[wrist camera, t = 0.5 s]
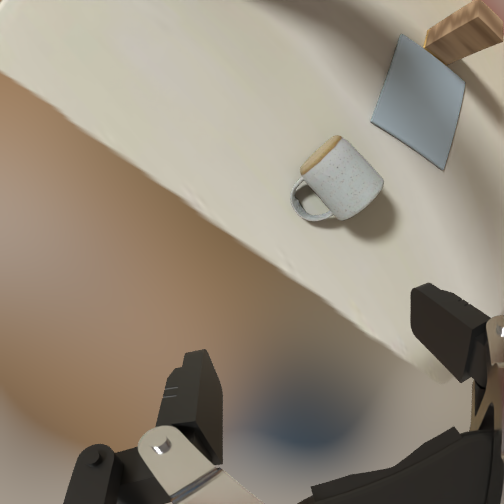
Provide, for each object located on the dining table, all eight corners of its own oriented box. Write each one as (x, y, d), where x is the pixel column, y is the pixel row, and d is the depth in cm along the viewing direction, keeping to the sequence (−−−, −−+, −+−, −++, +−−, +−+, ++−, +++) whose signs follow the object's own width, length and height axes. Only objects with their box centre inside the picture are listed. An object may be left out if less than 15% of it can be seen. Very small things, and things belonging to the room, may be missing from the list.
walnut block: (427, 30, 31) (478, -3, 16) (449, 47, 31) (502, 21, 17) (423, 48, 32) (478, 16, 17) (445, 65, 32) (503, 41, 18)
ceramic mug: (328, 134, 35) (347, 125, 28) (369, 179, 37) (395, 180, 30) (273, 190, 37) (280, 194, 30) (317, 233, 39) (333, 247, 31)
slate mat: (400, 34, 31) (401, 33, 31) (463, 83, 33) (465, 82, 32) (370, 121, 35) (372, 121, 34) (441, 169, 37) (443, 169, 36)
